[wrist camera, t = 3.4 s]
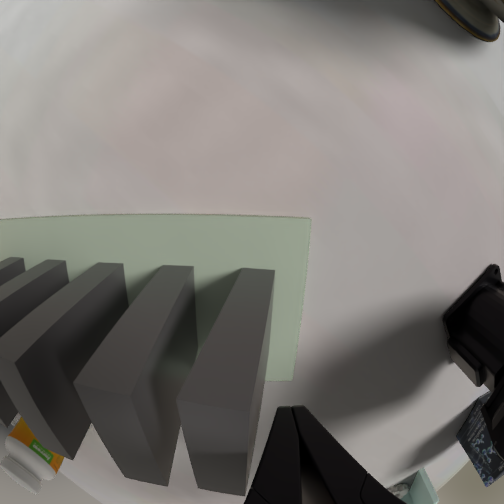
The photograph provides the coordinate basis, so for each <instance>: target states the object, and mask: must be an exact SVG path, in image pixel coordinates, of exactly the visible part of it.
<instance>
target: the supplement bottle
mask: <svg viewBox="0 0 504 504" xmlns="http://www.w3.org/2000/svg"><path fill="white" fill-rule="evenodd" d="M5 446H6V449H7V451H8V452H9V455H8V456H5V457H4V458H3V460H2V462H1V464H0V467H1V469H2V470H3V471H4V472H5V473H6V474H7V475H8V476H10V477H11V478H12V479H13V480H14V481H15V482H17V483H18V484H19V485H21V486H22V487H24V488H25V489H27V490H28V491H30V492H32V493H34V494H36V495H37V494H38V493H39V491H40V489H41V487H42V483H41V480H42V479H43V480H52V479H53V478H54V477H55V475H56V474H57V471H58V469H59V468H60V465H61V463H62V461H63V459H64V457H63V456H61V455H59V454H57V453H54V452H52V451H50V450H48V449H46V448H43V446H42V445H41V444H40V442H39V441H38V440H37V438H36V437H35V436H34V434H33V433H32V431H31V430H30V428H29V427H28V426H27V424H26V423H25V421H24V420H23V418H22V417H21V418H20V419H19V421H18V422H17V424H16V425H15V427H14V428H13V430H12V431H11V432H10V434H9V435H8V437H7V438H6V441H5Z"/></svg>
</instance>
